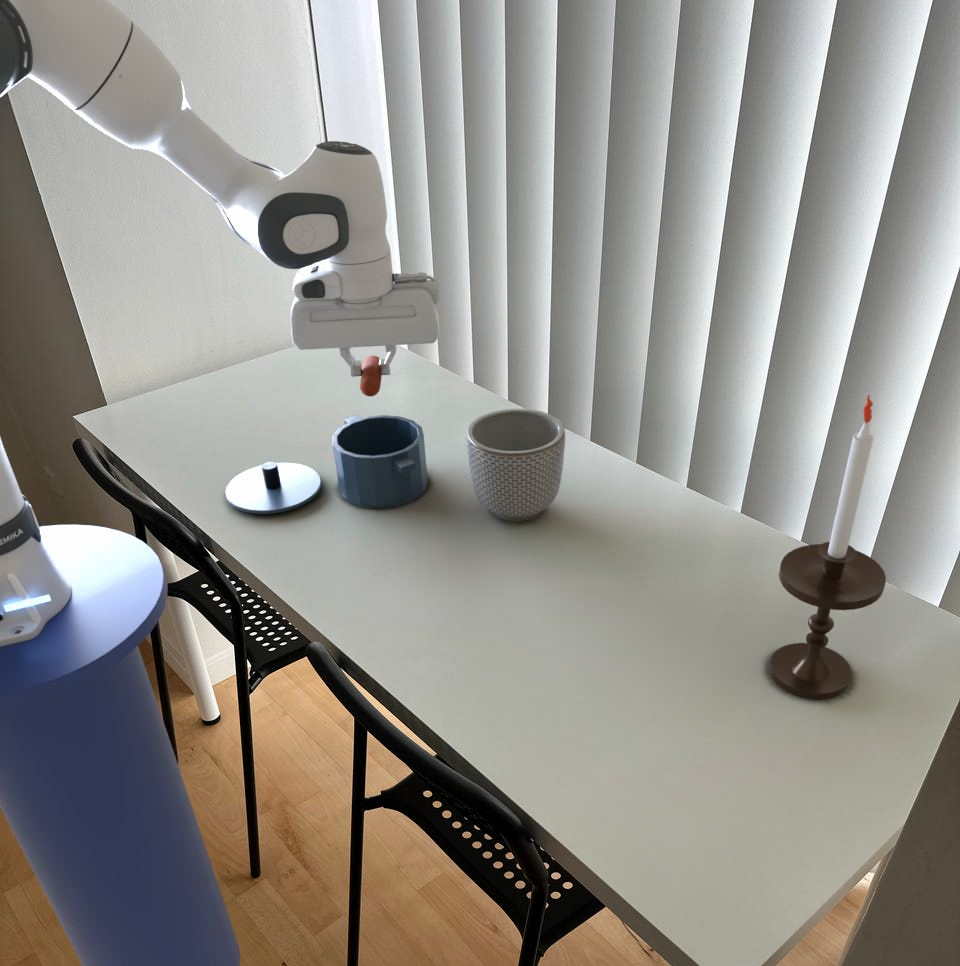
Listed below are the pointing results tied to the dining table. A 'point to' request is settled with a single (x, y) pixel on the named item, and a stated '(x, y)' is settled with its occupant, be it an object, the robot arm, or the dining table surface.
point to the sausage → (371, 376)
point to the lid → (273, 488)
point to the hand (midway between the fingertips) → (371, 374)
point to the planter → (516, 461)
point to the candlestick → (829, 588)
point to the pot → (380, 461)
